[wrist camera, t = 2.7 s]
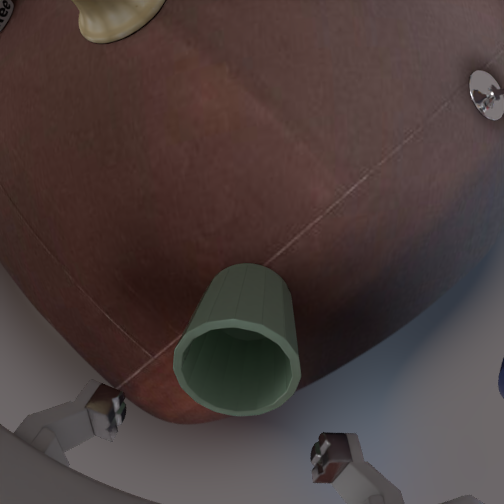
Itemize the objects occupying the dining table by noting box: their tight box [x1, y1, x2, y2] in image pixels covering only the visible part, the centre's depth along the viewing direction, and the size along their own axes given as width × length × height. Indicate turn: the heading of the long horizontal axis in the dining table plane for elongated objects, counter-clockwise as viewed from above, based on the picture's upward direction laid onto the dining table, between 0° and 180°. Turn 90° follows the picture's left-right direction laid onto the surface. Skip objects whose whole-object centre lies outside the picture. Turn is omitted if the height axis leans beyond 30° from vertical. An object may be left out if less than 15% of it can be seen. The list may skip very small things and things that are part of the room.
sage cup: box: [173, 263, 301, 416], centre depth 17 cm, size 6×6×8 cm
